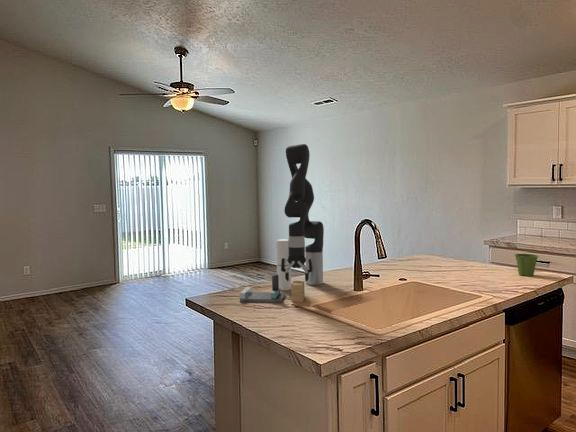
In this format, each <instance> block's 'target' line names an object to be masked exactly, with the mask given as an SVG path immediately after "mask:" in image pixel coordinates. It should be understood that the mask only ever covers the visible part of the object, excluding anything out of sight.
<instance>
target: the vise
mask: <svg viewBox="0 0 576 432" xmlns="http://www.w3.org/2000/svg"><path fill="white" fill-rule="evenodd" d="M252 289H253V288H252V286H245V287H244V289H243V290H242V291H240V292H239V302H240V303H270V304H271V303H274V304H275V303H277V304H281V303H282V302H283V300H285V298H286V293H285V292H280V294H279V295H278V296H277V298H271V294H270V293H271V292H270V291H269V292H268V291H265V292H262V291H258V292H257V291H252Z"/></svg>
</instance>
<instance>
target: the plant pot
mask: <svg viewBox="0 0 576 432" xmlns="http://www.w3.org/2000/svg"><path fill="white" fill-rule="evenodd" d="M514 256H515V261H516V266H517V272H518V275H519V276H522V277H523V276H524V277H533V276H534V274H535V269H536V265H537V261H538V257H539V256H540V255H537V254H533V253H515V254H514Z"/></svg>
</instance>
